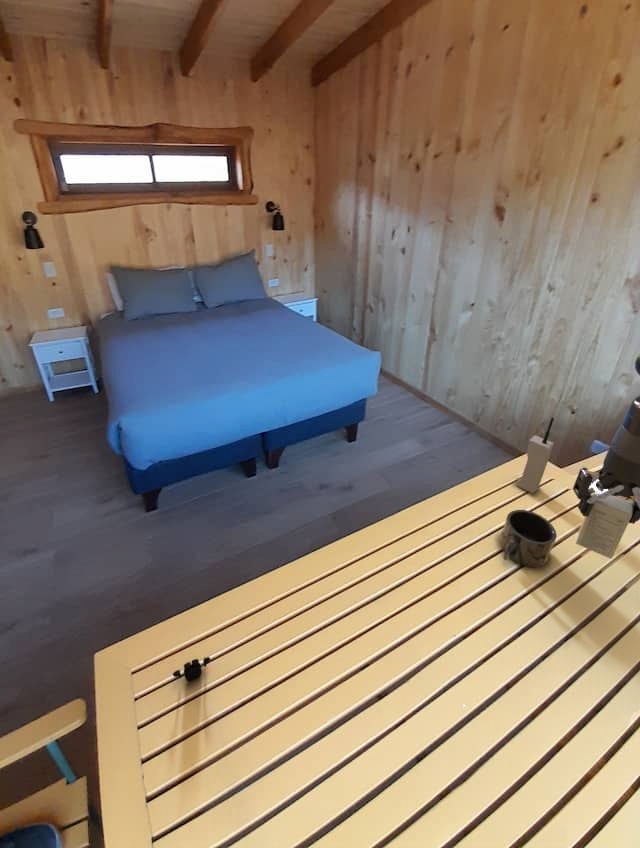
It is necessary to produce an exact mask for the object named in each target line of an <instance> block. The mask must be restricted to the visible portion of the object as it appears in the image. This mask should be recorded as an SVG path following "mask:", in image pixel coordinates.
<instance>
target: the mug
mask: <svg viewBox="0 0 640 848" xmlns="http://www.w3.org/2000/svg"><path fill="white" fill-rule="evenodd" d="M556 539H557V531H556V529H555V527H554V525H552V523H551V522H550V521H549V520H548V519H547V518H545V517H543V516H542V515H540V514H538V513H536V512H533V511H530V510H526V509H516V510H512V511H510V512H509V513H508V514H507V516H506V519H505V523H504V525H503V528H502V532H501V534H500V537H499V545H500V548H501V550H502V551H503V557H502V558H503V560H504V561H509V560H512V561H513V562H515V563H516V564H518V565H521V566H524V567H527V568H540V567H543V566H544V565H546V563H547V561H548V559H549V558H550V557H549V556H550V555H551V552H552V549H553V547H554V544H555V542H556Z"/></svg>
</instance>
